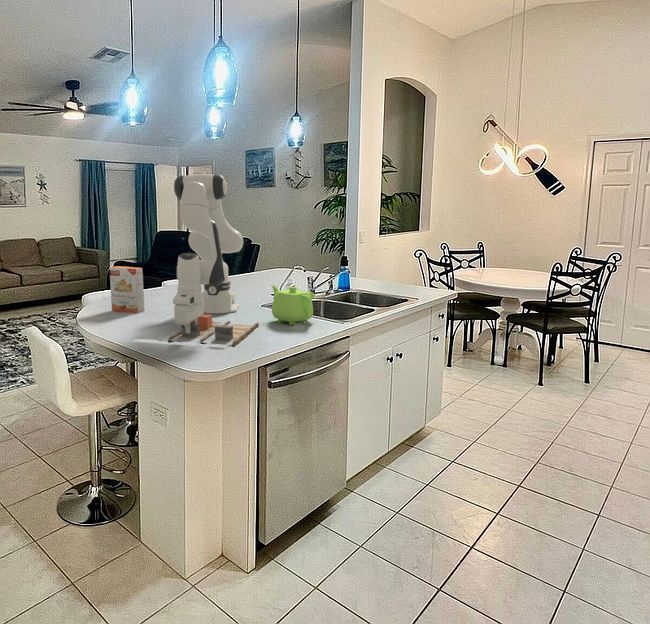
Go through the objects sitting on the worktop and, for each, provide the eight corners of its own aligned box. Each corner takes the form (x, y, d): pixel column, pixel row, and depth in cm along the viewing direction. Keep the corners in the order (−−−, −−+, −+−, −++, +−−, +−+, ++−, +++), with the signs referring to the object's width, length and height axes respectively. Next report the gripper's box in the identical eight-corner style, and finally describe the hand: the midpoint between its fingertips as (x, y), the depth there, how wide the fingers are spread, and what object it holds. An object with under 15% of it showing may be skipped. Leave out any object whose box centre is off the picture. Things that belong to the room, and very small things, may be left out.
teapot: (330, 321, 247) (331, 286, 244) (297, 328, 232) (297, 292, 228) (291, 312, 264) (292, 280, 260) (257, 319, 248) (257, 284, 245)
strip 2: (233, 327, 231) (233, 312, 230) (252, 328, 230) (251, 313, 229) (212, 342, 206) (211, 327, 205) (232, 344, 205) (232, 328, 204)
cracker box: (111, 311, 257) (108, 267, 253) (118, 308, 263) (116, 265, 258) (137, 313, 254) (135, 268, 249) (144, 310, 259) (142, 267, 255)
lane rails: (200, 323, 237) (200, 319, 236) (258, 327, 233) (258, 322, 233) (168, 342, 206) (168, 337, 205) (235, 347, 202) (235, 341, 202)
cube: (200, 325, 228) (200, 314, 227) (212, 326, 227) (211, 314, 226) (196, 328, 223) (195, 316, 222) (207, 329, 222) (207, 317, 221)
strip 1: (203, 324, 235) (203, 310, 234) (221, 325, 234) (221, 311, 233) (179, 339, 210) (178, 323, 209) (199, 340, 209) (198, 324, 208)
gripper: (192, 291, 219) (193, 324, 221) (170, 300, 199) (172, 337, 202) (207, 292, 218) (208, 325, 221) (187, 301, 198) (188, 338, 201)
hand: (190, 331), depth 211 cm, fingers closed on strip 1, 3 cm apart
